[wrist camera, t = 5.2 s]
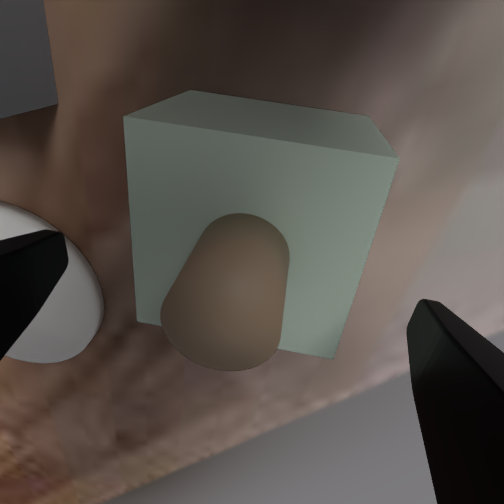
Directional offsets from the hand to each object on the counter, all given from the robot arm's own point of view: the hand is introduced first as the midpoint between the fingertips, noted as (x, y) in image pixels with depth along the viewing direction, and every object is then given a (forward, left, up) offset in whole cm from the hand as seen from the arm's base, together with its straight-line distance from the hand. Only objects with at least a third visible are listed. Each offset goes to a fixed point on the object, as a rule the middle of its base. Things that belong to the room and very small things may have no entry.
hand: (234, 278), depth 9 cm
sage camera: (0, 0, -7) cm, 7 cm away
